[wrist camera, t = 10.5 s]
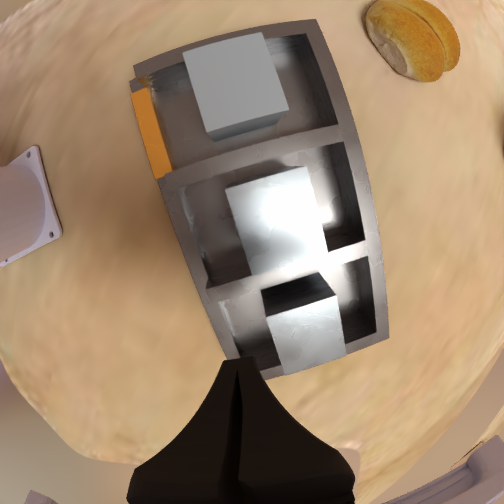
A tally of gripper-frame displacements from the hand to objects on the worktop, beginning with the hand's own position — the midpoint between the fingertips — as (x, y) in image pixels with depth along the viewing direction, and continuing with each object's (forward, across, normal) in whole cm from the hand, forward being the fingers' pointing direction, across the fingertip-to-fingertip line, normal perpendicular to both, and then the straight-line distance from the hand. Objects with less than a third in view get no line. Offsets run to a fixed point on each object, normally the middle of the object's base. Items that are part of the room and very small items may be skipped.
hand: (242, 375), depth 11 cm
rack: (+10, -3, -5) cm, 12 cm away
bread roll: (+10, -18, -18) cm, 27 cm away
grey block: (+9, -2, -13) cm, 16 cm away
